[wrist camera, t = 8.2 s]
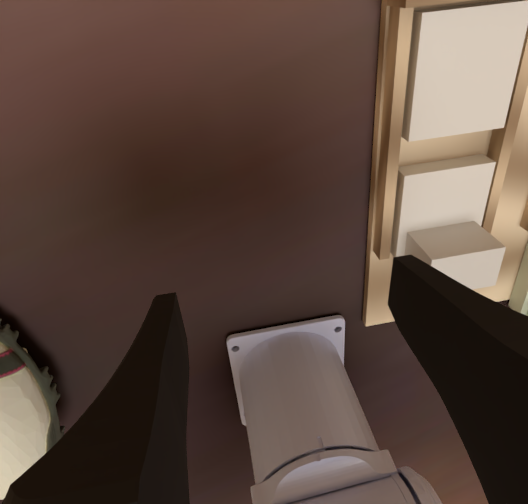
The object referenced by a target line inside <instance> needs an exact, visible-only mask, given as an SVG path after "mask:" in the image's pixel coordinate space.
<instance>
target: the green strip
mask: <svg viewBox="0 0 528 504" xmlns="http://www.w3.org/2000/svg"><path fill="white" fill-rule="evenodd" d="M508 306H509V307H510V308H511V309H512V310H515V311H517V312H519V313H522V314H524V315H526V316H528V243H527V246H526V249H525V252H524V256H523V259H522V262H521V265H520V268H519V272H518V275H517V278H516V281H515V284H514V288H513V291H512V294H511V297H510V300H509V304H508Z"/></svg>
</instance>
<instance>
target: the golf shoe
mask: <svg viewBox="0 0 528 504" xmlns="http://www.w3.org/2000/svg"><path fill="white" fill-rule="evenodd" d="M1 320H2V319H1V318H0V322H1ZM18 335H19V332H18V331H12V330H10V325H9V324H5V325H3V326H1V323H0V500H2V499H4V498H5V496H6V494H7V492H8V489H9V487H10V485H11V484H12V483H13V482H14V481H15V480H16V479H17V478H19V477H20V476H21V475H22V474H23V473H24V472H25V471H27V470H28V469H29V468H30V467H31V466H32V465H33V464H34V463H36V462H37V461H38V460H39V459H40V458H41V457H42V456H43V455H44V454H46V453H47V452H48V451H49V450H50V449H51V448H52V447H53V446H54V445H55V444H56V443H57V442H58V441H59V440H60V439H61V438H62V437H63V435H64V429H65V426H60V423H59V418H58V413H57V409H56V403H57V401H58V399H59V398H60V393H58V392H57V391H56V384H55V383H51V381H52V379H53V376H52V375H49V374H48V372H47V371H48V367H47V366H45V367H42V368H40V369H39V368H38V367H37V365H36V364H35V362H34V361H33V360H32V358H31V356H30V355H29V354H28V351H27V349H25V348H22V347H21V346H20V345H19V344H18V343H17V342H16V341H17V338H18Z"/></svg>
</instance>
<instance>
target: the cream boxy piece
mask: <svg viewBox="0 0 528 504" xmlns="http://www.w3.org/2000/svg"><path fill="white" fill-rule="evenodd" d="M527 26H528V0H498V1H489V2H481V3H472V4H464V5H455V6H447V7H438V8H430V9H421V10H414V11H413V21H412V32H411V42H410V52H409V62H408V73H407V83H406V93H405V103H404V114H403V124H402V134H401V137H402V138H404V139H405V140H407V141H408V142H411V141H418V140H424V139H431V138H438V137H445V136H452V135H458V134H465V133H472V132H479V131H485V130H492V129H499V128H504V125H505V121H506V117H507V112H508V108H509V104H510V100H511V95H512V91H513V87H514V82H515V78H516V74H517V69H518V65H519V61H520V57H521V52H522V48H523V44H524V39H525V35H526V31H527ZM495 164H496V162H495V161H493V160H492V159H490V158H488V157H487V156H485V155H483V154H479V155H472V156H466V157H459V158H453V159H446V160H440V161H433V162H427V163H420V164H413V165H407V166H400V167H398V175H397V186H396V196H395V206H394V217H393V227H392V237H391V247H390V253H391V254H392V255H393V256H394V257H399V256H405V255H413V256H415V257H416V258H418V259H420V260H422V261H423V262H425V263H427V264H429V265H430V266H432V267H434V268H435V269H437V270H439V271H440V272H442V273H444V274H445V275H447V276H449V277H451V278H452V279H454V280H456V281H457V282H459V283H461V284H463V285H465V286H466V287H468V288H470V289H472V290H473V289H478V288H484V287H489V286H495V285H496V281H497V278H498V274H499V271H500V267H501V264H502V260H503V256H504V253H505V249H506V247H505V246H504V245H503V244H502V243H501V242H499V241H498V240H497V239H496V238H495V237H493V236H492V235H491V234H490V233H488V232H487V231H486V230H485V229H484V228H482V227H481V224H482V220H483V216H484V211H485V207H486V203H487V198H488V194H489V190H490V185H491V181H492V177H493V173H494V168H495Z"/></svg>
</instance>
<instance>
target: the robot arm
mask: <svg viewBox="0 0 528 504" xmlns="http://www.w3.org/2000/svg"><path fill="white" fill-rule="evenodd" d="M388 306H389V309H390V311H391V313H392V316H393V318H394V320H395V322H396V324H397V326H398V328H399V330H400V332H401V334H402V335H403V337H404V339H405V340H406V342H407V343H408V345H409V346H410V348H411V350H412V351H413V353H414V354H415V356H416V357H417V359H418V361H419V362H420V364H421V365H422V367H423V368H424V370H425V372H426V373H427V375H428V376H429V378H430V379H431V381H432V382H433V384H434V386H435V388H436V389H437V391H438V393H439V394H440V396H441V398H442V400H443V402H444V404H445V406H446V408H447V410H448V412H449V414H450V416H451V418H452V420H453V422H454V424H455V427H456V429H457V431H458V433H459V435H460V437H461V439H462V442H463V444H464V446H465V448H466V450H467V452H468V455H469V457H470V459H471V462H472V464H473V466H474V469H475V471H476V473H477V476H478V478H479V480H480V482H481V485H482V488H483V490H484V493H485V495H486V498H487V500H488V503H489V504H528V316H526V315H524V314H522V313H519V312H517V311H515V310H512V309H510V308H508V307H506V306H503V305H501V304H499V303H497V302H495V301H493V300H491V299H489V298H487V297H485V296H483V295H481V294H479V293H477V292H475V291H474V290H472V289H470V288H468V287H466V286H465V285H463V284H461V283H459V282H457V281H456V280H454V279H452V278H451V277H449V276H447V275H445V274H444V273H442V272H440V271H439V270H437V269H435V268H434V267H432V266H430V265H429V264H427V263H425V262H423V261H422V260H420V259H418V258H416V257H415V256H413V255H405V256H399V257H393V264H392V272H391V280H390V288H389V296H388ZM336 327H338V328H336ZM226 342H227V348H228V353H229V359H230V364H231V369H232V374H233V380H234V385H235V390H236V395H237V400H238V406H239V411H240V416H241V421H242V424H243V425H245V426H247V433H248V439H249V446H250V452H251V459H252V465H253V472H254V478H255V485H253V486H251V488H250V489H251V496H252V503H253V504H442V502H441V501H440V499H439V497H438V495H437V494H436V492H435V490H434V489H433V488H432V486H431V485H430V483H429V482H428V481H427V480H426V479H425V478H424V477H422V476H421V475H419V474H418V473H416V472H415V471H414V470H413V469H412V468H410V467H408V466H405V467H401V468H397V469H396V467H395V464H394V462H393V460H392V458H391V455H390V453H389V451H388V450H381V451H380V450H379V448H378V445H377V443H376V441H375V438H374V436H373V434H372V431H371V429H370V427H369V424H368V422H367V420H366V417H365V415H364V413H363V410H362V408H361V406H360V403H359V401H358V399H357V396H356V394H355V392H354V389H353V387H352V385H351V382H350V380H349V377H348V375H347V373H346V370H345V368H344V342H345V320H344V318H343V317H342V316H341V315H335V316H329V317H324V318H318V319H313V320H308V321H302V322H297V323H291V324H286V325H281V326H275V327H270V328H264V329H259V330H254V331H248V332H243V333H237V334H232V335H230V336H228V337H227V340H226ZM234 346H237V347H234ZM188 382H189V359H188V346H187V337H186V333H185V329H184V325H183V320H182V316H181V312H180V308H179V304H178V300H177V295H176V293H169V294H163V295H157V296H156V297H155V298H154V299H153V302H152V304H151V307H150V309H149V311H148V314H147V316H146V318H145V320H144V322H143V324H142V326H141V328H140V330H139V332H138V334H137V336H136V338H135V340H134V342H133V344H132V345H131V347H130V349H129V351H128V352H127V354H126V355H125V357H124V359H123V360H122V362H121V364H120V365H119V367H118V369H117V370H116V372H115V373H114V375H113V376H112V377H111V379H110V380H109V382H108V383H107V385H106V386H105V387H104V389H103V390H102V391H101V393H100V394H99V395H98V397H97V398H96V399H95V400H94V402H93V403H92V404H91V405H90V406H89V408H88V409H87V410H86V411H85V413H84V414H83V415H82V416H81V417H80V418H79V420H78V421H77V422H76V423H75V424H74V425H73V426H72V427H71V428H70V429H69V430H68V431H67V432H66V433H65V434H64V435H63V437H62V438H61V439H60V440H59V441H58V442H57V443H56V444H55V445H54V446H53V447H52V448H51V449H50V450H49V451H48V452H47V453H46V454H44V455H43V456H42V457H41V458H40V459H39V460H38V461H37V462H36V463H34V464H33V465H32V466H31V467H30V468H29V469H28V470H27V471H25V472H24V473H23V474H22V475H21V476H20V477H19V478H17V479H16V480H15V481H14V482H13V483H12V484H11V485H10V487H9V489H8V492H7V494H6V496H5V498H4V500H3V502H2V504H190V503H189V487H188V470H187V451H186V426H187V405H188Z"/></svg>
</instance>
